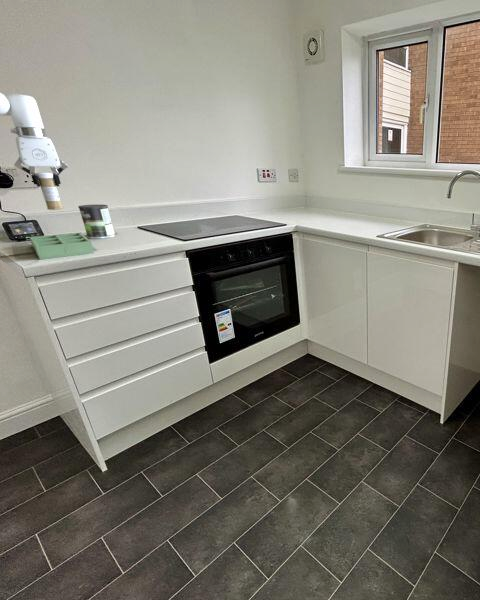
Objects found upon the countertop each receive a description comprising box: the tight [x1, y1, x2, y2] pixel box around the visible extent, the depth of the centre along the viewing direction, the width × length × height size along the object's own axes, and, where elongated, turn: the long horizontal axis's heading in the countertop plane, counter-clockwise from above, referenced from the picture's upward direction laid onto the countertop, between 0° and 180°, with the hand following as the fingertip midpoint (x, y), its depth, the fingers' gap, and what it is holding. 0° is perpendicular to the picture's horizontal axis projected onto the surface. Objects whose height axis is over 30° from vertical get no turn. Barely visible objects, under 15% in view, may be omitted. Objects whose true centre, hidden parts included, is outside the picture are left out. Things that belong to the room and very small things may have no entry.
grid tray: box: [29, 232, 95, 260], centre depth 138 cm, size 15×23×5 cm
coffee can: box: [77, 204, 116, 240], centre depth 161 cm, size 10×10×14 cm
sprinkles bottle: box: [35, 172, 64, 211], centre depth 134 cm, size 5×5×13 cm
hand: (48, 185), depth 133 cm, fingers closed on sprinkles bottle, 4 cm apart
